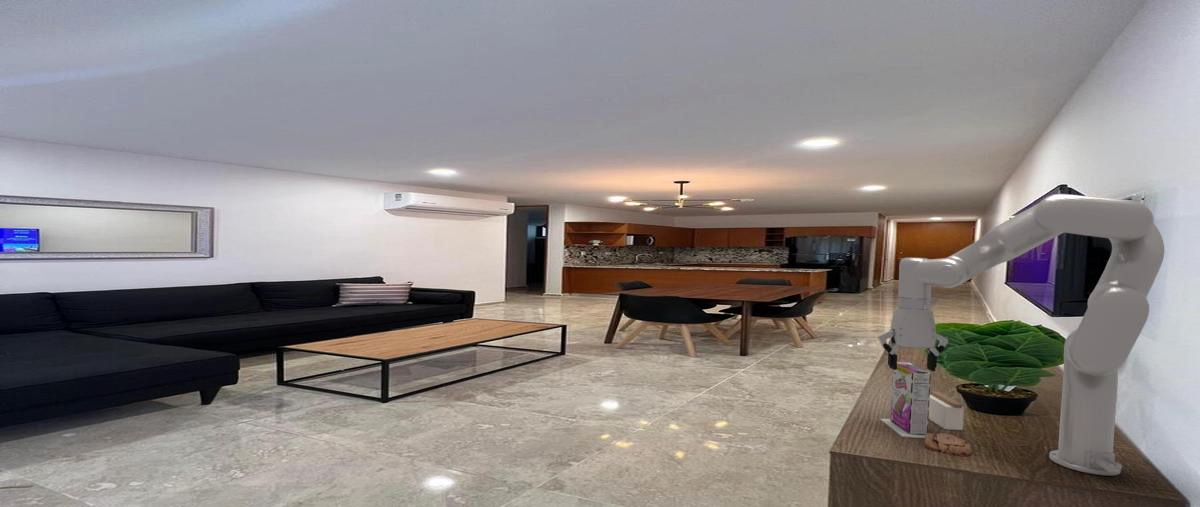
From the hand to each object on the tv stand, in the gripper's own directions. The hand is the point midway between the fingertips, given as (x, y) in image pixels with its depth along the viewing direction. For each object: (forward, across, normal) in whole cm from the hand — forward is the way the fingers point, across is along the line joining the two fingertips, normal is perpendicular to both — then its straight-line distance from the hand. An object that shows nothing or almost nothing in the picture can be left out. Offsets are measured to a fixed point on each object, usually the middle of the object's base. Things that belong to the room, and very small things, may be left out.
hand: (911, 369), depth 155 cm
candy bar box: (+16, 0, 0) cm, 16 cm away
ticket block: (+16, -12, -8) cm, 22 cm away
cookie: (+17, -3, +13) cm, 21 cm away
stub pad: (+16, +1, 0) cm, 16 cm away
